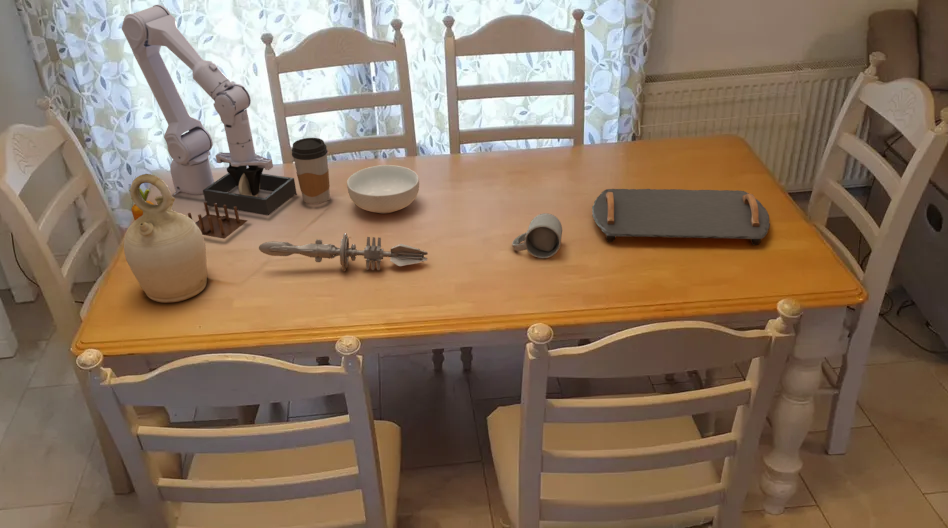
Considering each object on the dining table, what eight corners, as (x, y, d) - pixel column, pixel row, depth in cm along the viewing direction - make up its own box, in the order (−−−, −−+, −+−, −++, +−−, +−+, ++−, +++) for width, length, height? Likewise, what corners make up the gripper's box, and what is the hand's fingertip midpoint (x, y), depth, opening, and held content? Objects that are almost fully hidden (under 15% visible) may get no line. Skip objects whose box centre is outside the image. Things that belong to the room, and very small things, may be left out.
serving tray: (592, 246, 183) (593, 220, 179) (590, 198, 202) (592, 174, 198) (776, 249, 179) (781, 223, 176) (757, 201, 198) (761, 176, 194)
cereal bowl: (337, 216, 199) (333, 188, 195) (370, 187, 211) (367, 161, 207) (402, 227, 193) (399, 198, 189) (432, 196, 206) (430, 169, 202)
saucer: (241, 207, 203) (235, 178, 199) (259, 194, 209) (253, 165, 204) (245, 208, 203) (238, 178, 198) (262, 194, 208) (257, 166, 204)
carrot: (171, 246, 189) (154, 184, 181) (155, 256, 186) (138, 194, 177) (154, 242, 191) (136, 181, 183) (138, 252, 188) (120, 190, 179)
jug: (170, 263, 183) (139, 155, 169) (229, 275, 178) (203, 164, 164) (121, 299, 172) (84, 186, 157) (183, 313, 166) (151, 197, 152)
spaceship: (262, 226, 178) (254, 230, 171) (428, 235, 181) (428, 239, 173) (262, 264, 180) (254, 269, 172) (426, 272, 182) (426, 277, 175)
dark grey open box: (207, 209, 204) (202, 190, 201) (237, 188, 214) (233, 169, 211) (269, 219, 199) (265, 199, 196) (297, 197, 208) (294, 178, 205)
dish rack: (184, 235, 193) (179, 215, 190) (208, 218, 200) (203, 198, 197) (225, 243, 190) (220, 222, 187) (248, 225, 197) (244, 204, 194)
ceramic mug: (562, 241, 185) (563, 209, 181) (560, 259, 179) (560, 227, 174) (514, 239, 187) (513, 208, 182) (510, 258, 180) (509, 225, 176)
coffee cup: (337, 195, 208) (330, 136, 200) (330, 210, 202) (321, 150, 193) (304, 194, 209) (295, 136, 201) (295, 209, 202) (285, 150, 194)
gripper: (203, 142, 196) (215, 196, 204) (256, 149, 191) (267, 204, 199) (221, 131, 201) (232, 184, 209) (273, 138, 197) (283, 191, 205)
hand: (250, 193), depth 205 cm, fingers closed
